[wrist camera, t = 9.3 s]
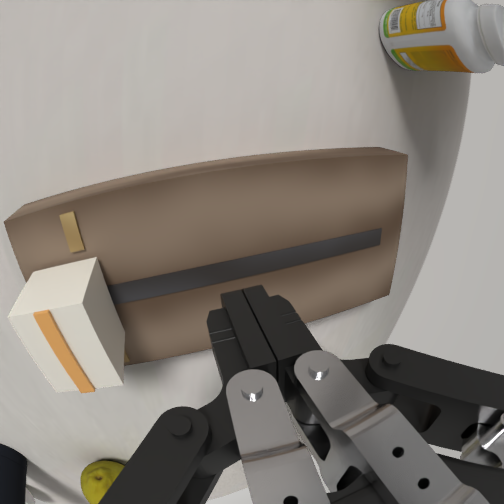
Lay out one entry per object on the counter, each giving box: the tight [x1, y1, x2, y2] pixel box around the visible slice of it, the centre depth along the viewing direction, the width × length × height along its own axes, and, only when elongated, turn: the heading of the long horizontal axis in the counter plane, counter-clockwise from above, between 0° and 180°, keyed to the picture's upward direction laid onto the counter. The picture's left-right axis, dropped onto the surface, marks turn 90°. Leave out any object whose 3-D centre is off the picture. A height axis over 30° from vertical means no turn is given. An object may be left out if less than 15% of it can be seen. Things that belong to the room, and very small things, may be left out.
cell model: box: [25, 488, 35, 504], centre depth 23 cm, size 10×12×7 cm
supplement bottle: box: [379, 0, 504, 73], centre depth 12 cm, size 5×5×10 cm
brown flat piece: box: [4, 147, 408, 366], centre depth 18 cm, size 11×24×3 cm, turn 95°
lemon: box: [81, 461, 125, 504], centre depth 23 cm, size 11×8×8 cm
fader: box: [8, 257, 125, 393], centre depth 12 cm, size 5×4×4 cm
